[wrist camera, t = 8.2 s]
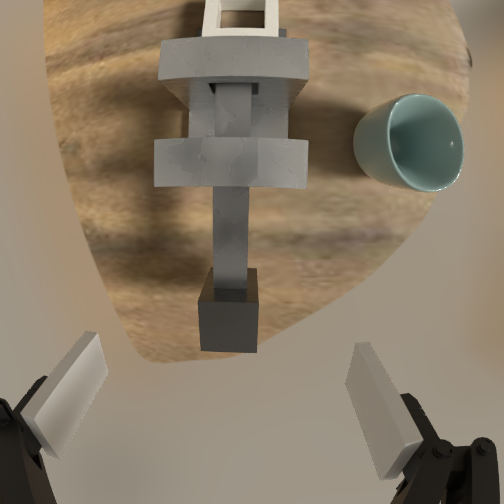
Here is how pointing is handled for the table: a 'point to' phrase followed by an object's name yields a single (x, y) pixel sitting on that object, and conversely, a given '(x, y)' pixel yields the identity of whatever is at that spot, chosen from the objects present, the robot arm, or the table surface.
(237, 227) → the shaft
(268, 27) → the block
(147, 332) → the table surface
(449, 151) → the cup
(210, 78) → the bearing block
